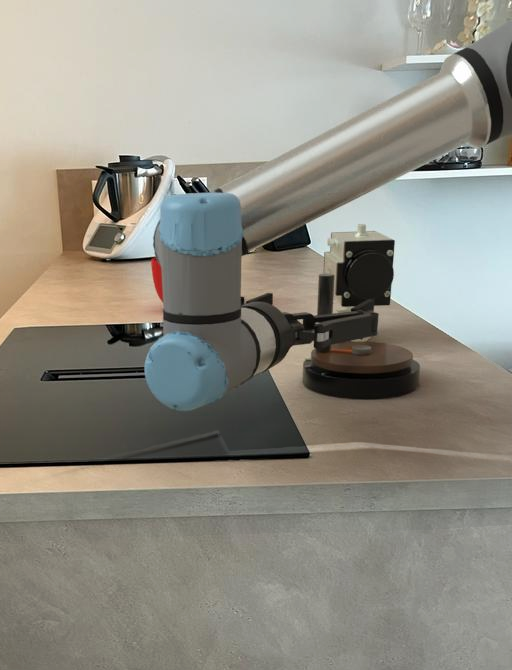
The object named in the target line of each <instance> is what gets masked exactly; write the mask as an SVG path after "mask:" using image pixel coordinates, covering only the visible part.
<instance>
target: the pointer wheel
mask: <svg viewBox="0 0 512 670" xmlns="http://www.w3.org/2000/svg"><path fill="white" fill-rule="evenodd" d="M334 278H335V275H334V274H323V273H320V274H318V281H317V283H318V284H317V285H318V286H317V306H316V307H317V308H316V313H317V314H316V315H324V314H333V313H334V299H335V298H334ZM310 357H311V362H312V363H313V364H314V365H316V366H318V367H321V368H323V369H327V370H332V371H337V372H345V373H360V374H371V373H386V372H393V371H398V370H402V369H405V368H407V367H409V366H410V365H411V364H412V361H413V360H414V354H413V352H412V351H411V350H410V349H408V348H405V347H403V346H400V345H395V344H392V343H385V342H375V341H365V342H352V341H347V342H342V343H337V344H332V345H329V346H327V347H325V348H321V349H316V348H313V349H312V350H311V352H310Z"/></svg>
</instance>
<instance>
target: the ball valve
mask: <svg viewBox="0 0 512 670" xmlns="http://www.w3.org/2000/svg"><path fill="white" fill-rule="evenodd" d="M326 242H327V243H326V244H327V246H328V247H329V250H330V251H324V254H323V272H322V274H334V275H335V278H334V298H333V299H335V301H337V302H338V304H339V305H340V307H342V308H344V309H342V310H341V309H338V310H335V312H334V313H343V312H351V308H353V307H355V306H357V305H359V304H361V303H362V302H364V301H366V300H368V299H373V300H374V307H378V306H380V307H381V306H382V307H383V306H391V297H392V285H393V281H394V277H395V270H394V257H395V247H396V246H395V245H396V243H395V242H396V240H395V239H393V238H391V237H389V236H387V235H385V234H383V233H381V232H378V231H376V230H367V225H366V224H365V223H358V224H357V231H337V232H336V231H335V232H334V231H331V233H330V237H327V241H326ZM370 339H371V337H366V338H363V339H362V340H360V339H356V340H352V341H351V342H368V340H370Z"/></svg>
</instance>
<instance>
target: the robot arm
mask: <svg viewBox="0 0 512 670" xmlns="http://www.w3.org/2000/svg"><path fill="white" fill-rule="evenodd" d="M510 135H512V18H511V19H509V20H507V21H506V22H504V23H503V24H502V25H500V26H499V27H497V28H496V29H494V30H492V31H490V32H489V33H487V34H485V35H484V36H482V37H481V38H479V39H478V40H476V41H474V42H472V43H470V44H469V45H467V46H466V47H464V48H462V49H460V50H458V51H456V52H453V53H452V54H450V55H448V56H446V58H444V60H443V62H442V65H441V68H440V69H439V72H438V73H436V74H435V75H433V76H431V77H429V78H427V79H425V80H423V81H421V82H419V83H417V84H415V85H414V86H412V87H410V88H407V89H406V90H404V91H402V92H400V93H398V94H396V95H394V96H393V97H391V98H389V99H386V100H385V101H382V102H380V103H379V104H377V105H375V106H373V107H371V108H370V109H367V110H366V111H363V112H361V113H359V114H358V115H355V116H354V117H351V118H350V119H347V120H346V121H344V122H342V123H341V124H338V125H336V126H334V127H333V128H330V129H328V130H327V131H325V132H323V133H320V134H319V135H316V136H314V137H313V138H311V139H309V140H307V141H306V142H305V141H304V143H302V144H299V145H298V146H296V147H294V148H292V149H290V150H288V151H286V152H284V153H282V154H281V155H279V156H276V157H275V158H272V159H271V160H269V161H267V162H264V163H263V164H261V165H259V166H257V167H256V168H253V169H252V170H249V171H248V172H246V173H244V174H242V175H240V176H238V177H236V178H235V179H232V180H231V181H228V182H226V183H225V184H223V185H221V186H219V187H218V188H216V189H214V190H212V191H210V192H197V193H196V192H192V193H179V194H173V195H168V196H166V197H165V198H163V200H162V201H161V202H160V206H159V208H160V209H159V210H160V211H159V219H158V221H157V224H156V226H155V229H154V231H153V237H152V241H153V243H152V247H153V250H154V251H153V252H154V253H153V254H154V257H156V259H157V261H158V263H159V264H160V265H161V270H162V289H163V302H162V305H163V309H162V332H163V333H162V334H163V335H162V336H161V338H158V339H157V341H155V342H154V343H153V344H152V346H151V347H150V348H149V351H148V353H147V355H146V358H145V360H144V377H145V381H146V383H147V386H148V388H149V390H150V392H151V393H152V395H153V396H154V397H155V398H156V399H157V401H159V403H161V404H162V405H163V406H165V407H167V408H169V409H171V410H175V411H178V412H191V411H195V410H197V409H199V408H202V407H204V406H206V405H209V404H214V403H216V402H217V401H219V400H220V399H222V398H223V397H224V396H225V395H227V394H228V393H229V392H231V391H232V390H234V389H237V388H238V387H239V386H240V385H243V384H245V383H246V382H248V381H250V380H251V379H253V378H255V377H257V376H259V375H261V374H262V373H264V372H267V371H269V370H270V369H272V368H273V367H275V366H277V365H278V364H280V363H281V362H282V361H283V360H284V359H285V357H287V355H288V353H289V351H290V349H291V348H292V347H294V346H302V345H303V346H304V345H310V344H312V343H313V349H315V348H316V349H321V348H325V347H327V346H329V345H332V344H337V343H342V342H352V340H356V339H360V340H362V339H363V338H366V337H370V338H372V337H374V336H378V330H379V329H378V328H379V317H380V316H379V315H380V314H379V313H378V312H375V306H374V300H373V299H368V300H366V301H364V302H362V303H361V304H359V305H357V306H355V307H353V308H351V312H343V313H335V312H333V314H324V315H317V314H316V315H314V314H312V313H310V312H307V311H303V312H292V313H289V312H287V311H281V310H280V309H279V308H278V307H276V306H275V305H274V304H273V301H274V295H273V294H274V293H273V292H266V293H264V294H261V295H259V296H256V297H254V298H251V299H248V300H246V301H245V296H242V258H243V256H245V255H248V254H249V253H250V252H253V251H254V250H257V249H258V248H261V247H263V246H265V245H267V244H269V243H271V242H273V241H275V240H276V239H279V238H280V237H283V236H286V235H287V234H289V233H291V232H293V231H294V230H297V229H299V228H300V227H303V226H305V225H307V224H309V223H311V222H313V221H315V220H317V219H319V218H320V217H323V216H324V215H327V214H329V213H331V212H333V211H334V210H337V209H338V208H340V207H343V206H344V205H346V204H349V203H351V202H352V201H355V200H357V199H359V198H361V197H363V196H365V195H367V194H369V193H372V192H373V191H375V190H377V189H379V188H381V187H383V186H385V185H387V184H389V183H391V182H393V181H395V180H397V179H399V178H401V177H403V176H405V175H407V174H410V173H411V172H413V171H415V170H417V169H419V168H421V167H423V166H425V165H427V164H429V163H430V162H433V161H435V160H436V159H439V158H441V157H443V156H446V155H447V154H449V153H451V152H453V151H455V150H457V149H459V148H461V147H464V146H468V147H470V148H473V149H481V148H483V147H485V146H487V145H489V144H491V143H493V142H495V141H497V140H499V139H502V138H504V137H507V136H510ZM300 320H302V322H300Z"/></svg>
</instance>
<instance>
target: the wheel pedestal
mask: <svg viewBox="0 0 512 670" xmlns="http://www.w3.org/2000/svg"><path fill="white" fill-rule="evenodd" d="M420 371H421V365H420V363H419V362H418V361H417V360H415V359H413V361H412V364H411V365H410V366H409V367H407V368H405V369H402V370H398V371H393V372H386V373H371V374H360V373H345V372H337V371H332V370H327V369H323V368H321V367H318V366H316V365H314V364H313V363H312V362H311V356H306V357H304V361H303V363H302V385H303V386H304V387H305V388H306V389H308V390H310V391H312V392H315V393H318V394H322V395H325V396H329V397H335V398H341V399H342V398H343V399H350V400H351V399H352V400H353V399H354V400H377V399H379V400H380V399H390V398H396V397H400V396H403V395H404V396H405V395H407V394H410V393H413V392H414V391H416V390H417V389H418V387H419V382H420Z"/></svg>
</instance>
